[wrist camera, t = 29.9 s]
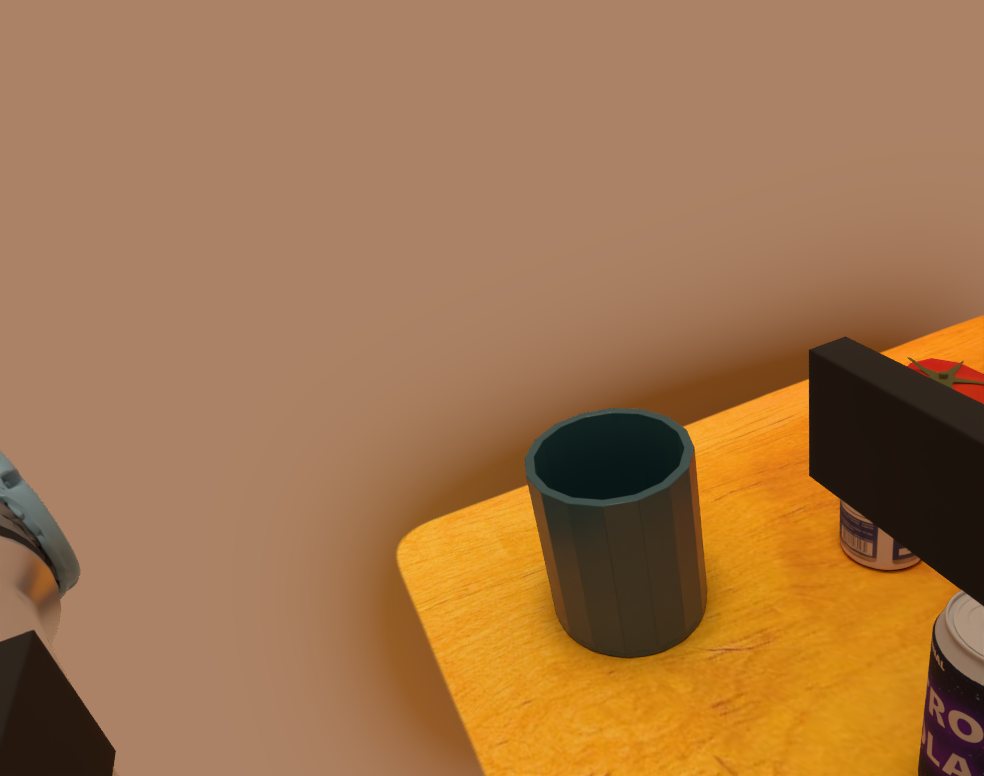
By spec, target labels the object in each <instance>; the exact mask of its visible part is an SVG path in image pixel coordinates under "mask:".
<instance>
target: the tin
mask: <svg viewBox="0 0 984 776" xmlns="http://www.w3.org/2000/svg"><path fill="white" fill-rule="evenodd" d="M525 466H526V477H527V482H528V486H529V491H530V495H531V500H532V505H533V509H534V514H535V518H536V523H537V527H538V532H539V537H540V541H541V546H542V550H543V555H544V560H545V564H546V569H547V573H548V578H549V582H550V587H551V592H552V596H553V601H554V605H555V610H556V614H557V616H558V618H559V620H560V623H561V624H562V626H563V628H564V629H565V631H566V632H567V633H568V634H569V635H570V636H571V637H572V638H573V639H574V640H575V641H577V642H578V643H580V644H581V645H583V646H584V647H586V648H588V649H591V650H593V651H596V652H598V653H601V654H606V655H610V656H617V657H639V656H646V655H651V654H655V653H658V652H661V651H664V650H666V649H669V648H671V647H673V646H675V645H676V644H678V643H680V642H681V641H683V640H684V639H685V638H686V637H688V636H689V635H690V634H691V633H692V632H693V631H694V630H695V628H696V627H697V626H698V624H699V623H700V621H701V619H702V617H703V614H704V611H705V608H706V595H707V585H706V574H705V562H704V551H703V540H702V528H701V517H700V506H699V495H698V483H697V472H696V461H695V449H694V446H693V443H692V441H691V439H690V437H689V434H688V432H687V430H686V429H685V428H683V427H682V426H680V425H679V424H678V423H676V422H675V421H673V420H672V419H670V418H669V417H667V416H664V415H660V414H657V413H654V412H650V411H646V410H643V409H622V408H620V409H619V408H612V409H611V408H610V409H604V410H599V411H593V412H587V413H582V414H579V415H577V416H574V417H572V418H569V419H567V420H565V421H562V422H560V423H557V424H556V425H554V426H552V427H551V428H550V429H549V430H547V431H546V432H544V433H543V434H542V435H541V436H539V437H538V438H537V439H536V440H535V441H534V442H533V444H532V446H531V448H530V449H529V451H528V453H527V455H526V457H525Z"/></svg>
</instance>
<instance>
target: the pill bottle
mask: <svg viewBox="0 0 984 776" xmlns="http://www.w3.org/2000/svg"><path fill="white" fill-rule="evenodd" d="M840 542H841V545H842V548H843V549H844V551H845V552H846V553H847V554H848V555H849V556H850V557H851V558H852V559H854V560H855V561H857V562H858V563H860V564H862V565H865V566H868V567H871V568H876V569H882V570H896V569H903V568H906V567H910V566H912V565H914V564H916V563H917V562H918V561H920V560H921V559H920V558H918V557H917V556H916V555H914V554H913V553H912V552H910V551H909V550H908V549H906V548H905V547H904V546H902V545H901V544H900V543H898V542H897V541H896V540H894V539H893V538H892V537H890V536H889V535H888V534H886V533H885V532H884V531H882V530H881V529H880V528H878V527H877V526H876V525H874V524H873V523H872V522H870V521H869V520H868V519H866V518H865V517H864V516H862V515H861V514H860V513H858V512H857V511H856V510H854V509H853V508H852V507H850V506H849V505H848V504H846V503H845V502H844V501H842V500H841V499H840Z"/></svg>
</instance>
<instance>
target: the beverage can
mask: <svg viewBox="0 0 984 776" xmlns="http://www.w3.org/2000/svg"><path fill="white" fill-rule="evenodd" d="M918 776H984V606H982V605H981V604H980V603H978V602H977V601H976V600H974V599H973V598H972V597H970V596H969V595H968V594H966V593H965V592H964V591H962V590H961V591H960V592H958V593H956V594H955V595H954V596H953V597H952V598H951V599H950V601H949V602H948V604H947V606H946V609H945V610H944V611H942V612H941V614H940V615H939V616H938V617H937V619H936V621H935V623H934V626H933V633H932V642H931V652H930V661H929V671H928V680H927V690H926V699H925V709H924V718H923V728H922V737H921V747H920V756H919V766H918Z"/></svg>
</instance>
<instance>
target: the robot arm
mask: <svg viewBox="0 0 984 776" xmlns="http://www.w3.org/2000/svg"><path fill="white" fill-rule="evenodd" d="M809 476H810V477H812V478H813V479H814V480H816V481H817V482H818V483H820V484H821V485H822V486H824V487H825V488H826V489H828V490H829V491H830V492H832V493H833V494H834V495H836V496H837V497H838V498H840V499H841V500H842V501H844V502H845V503H846V504H848V505H849V506H850V507H852V508H853V509H854V510H856V511H857V512H858V513H860V514H861V515H862V516H864V517H865V518H866V519H868V520H869V521H870V522H872V523H873V524H874V525H876V526H877V527H878V528H880V529H881V530H882V531H884V532H885V533H886V534H888V535H889V536H890V537H892V538H893V539H894V540H896V541H897V542H898V543H900V544H901V545H902V546H904V547H905V548H906V549H908V550H909V551H910V552H912V553H913V554H914V555H916V556H917V557H918V558H920V559H921V560H922V561H924V562H925V563H926V564H928V565H929V566H930V567H932V568H933V569H934V570H936V571H937V572H938V573H940V574H941V575H942V576H944V577H945V578H946V579H948V580H949V581H950V582H952V583H953V584H954V585H956V586H957V587H958V588H960V589H961V590H962V591H964V592H965V593H966V594H968V595H969V596H970V597H972V598H973V599H974V600H976V601H977V602H978V603H980V604H981V605H982V606H984V404H983V403H981V402H979V401H977V400H974V399H972V398H970V397H968V396H966V395H964V394H962V393H960V392H958V391H956V390H954V389H952V388H950V387H948V386H946V385H944V384H942V383H940V382H938V381H936V380H933V379H931V378H929V377H927V376H925V375H923V374H921V373H919V372H917V371H915V370H913V369H911V368H909V367H907V366H905V365H903V364H901V363H899V362H897V361H895V360H892V359H890V358H888V357H886V356H884V355H882V354H880V353H878V352H876V351H874V350H872V349H870V348H868V347H866V346H864V345H861V344H860V343H857V342H856V341H853V340H851V339H849V338H847V337H843V338H840V339H838V340H835V341H832V342H829V343H827V344H824V345H821V346H818V347H816V348H813V349H810V350H809ZM79 576H80V567H79V563H78V560H77V558H76V556H75V553H74V551H73V549H72V548H71V546H70V544H69V542H68V540H67V539H66V537H65V535H64V534H63V532H62V530H61V529H60V527H59V526H58V524H57V522H56V521H55V519H54V518H53V516H52V515H51V513H50V512H49V511H48V509H47V508H46V506H45V505H44V503H43V502H42V501H41V499H40V498H39V496H38V495H37V494H36V493H35V492H34V491H33V489H32V488H31V487H30V486H29V485H28V484H27V483H26V482H25V480H24V479H23V478H22V477H21V475H20V474H19V472H18V470H17V469H16V468H15V466H14V465H13V464H12V463H11V461H10V460H9V459H8V458H7V457H6V456H5V455H4V454H3V453H2V452H1V451H0V776H118V774H117V772H116V770H115V768H114V760H115V752H116V751H115V749H114V748H113V746H112V745H111V743H110V742H109V740H108V739H107V737H106V736H105V734H104V733H103V731H102V730H101V728H100V727H99V726H98V724H97V723H96V721H95V720H94V718H93V717H92V715H91V714H90V712H89V711H88V709H87V708H86V706H85V705H84V703H83V702H82V700H81V699H80V697H79V696H78V694H77V693H76V691H75V690H74V688H73V687H72V685H71V683H70V681H69V679H68V677H67V675H66V673H65V671H64V669H63V667H62V665H61V664H60V662H59V660H58V658H57V656H56V654H55V652H54V650H53V648H52V646H51V644H52V642H53V640H54V637H55V635H56V632H57V629H58V625H59V622H60V614H61V605H60V604H61V603H60V599H61V598H62V597H63V596H64V594H65V593H66V592H67V591H68V590H69V589H71V588H72V587H73V586H74V585H75V584H76V583H77V581H78V579H79Z"/></svg>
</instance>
